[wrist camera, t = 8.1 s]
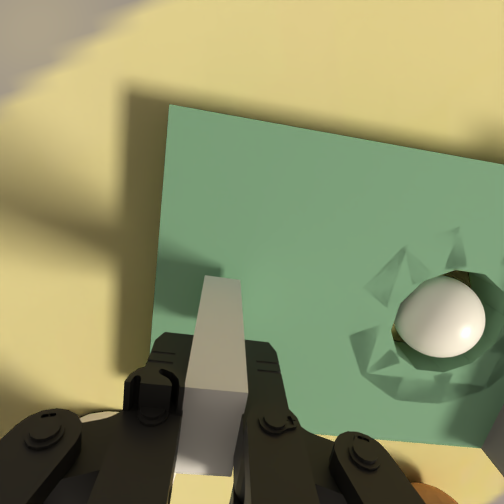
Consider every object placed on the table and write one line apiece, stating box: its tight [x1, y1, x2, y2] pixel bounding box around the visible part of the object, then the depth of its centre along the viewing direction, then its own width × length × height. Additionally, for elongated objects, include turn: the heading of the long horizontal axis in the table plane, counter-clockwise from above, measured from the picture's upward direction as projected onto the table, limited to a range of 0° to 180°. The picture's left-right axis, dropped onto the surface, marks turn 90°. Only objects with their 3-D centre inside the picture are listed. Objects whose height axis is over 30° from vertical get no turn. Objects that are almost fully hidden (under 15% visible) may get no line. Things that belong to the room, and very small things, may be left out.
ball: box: [394, 275, 485, 358], centre depth 16 cm, size 4×4×4 cm
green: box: [150, 104, 504, 477], centre depth 15 cm, size 20×15×6 cm
